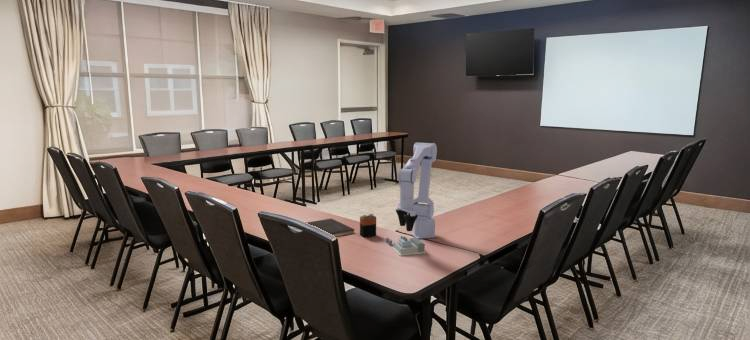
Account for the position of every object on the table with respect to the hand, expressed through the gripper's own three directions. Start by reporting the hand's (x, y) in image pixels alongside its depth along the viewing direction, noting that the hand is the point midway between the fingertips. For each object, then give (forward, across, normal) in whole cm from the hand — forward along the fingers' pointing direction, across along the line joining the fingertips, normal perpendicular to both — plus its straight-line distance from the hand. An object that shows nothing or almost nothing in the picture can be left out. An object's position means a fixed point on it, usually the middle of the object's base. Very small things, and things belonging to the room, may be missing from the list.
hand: (406, 228), depth 190 cm
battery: (+10, -25, -9) cm, 28 cm away
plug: (+10, 0, 0) cm, 10 cm away
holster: (+10, -11, 0) cm, 15 cm away
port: (+10, 0, +1) cm, 10 cm away
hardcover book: (+11, -39, -25) cm, 47 cm away
